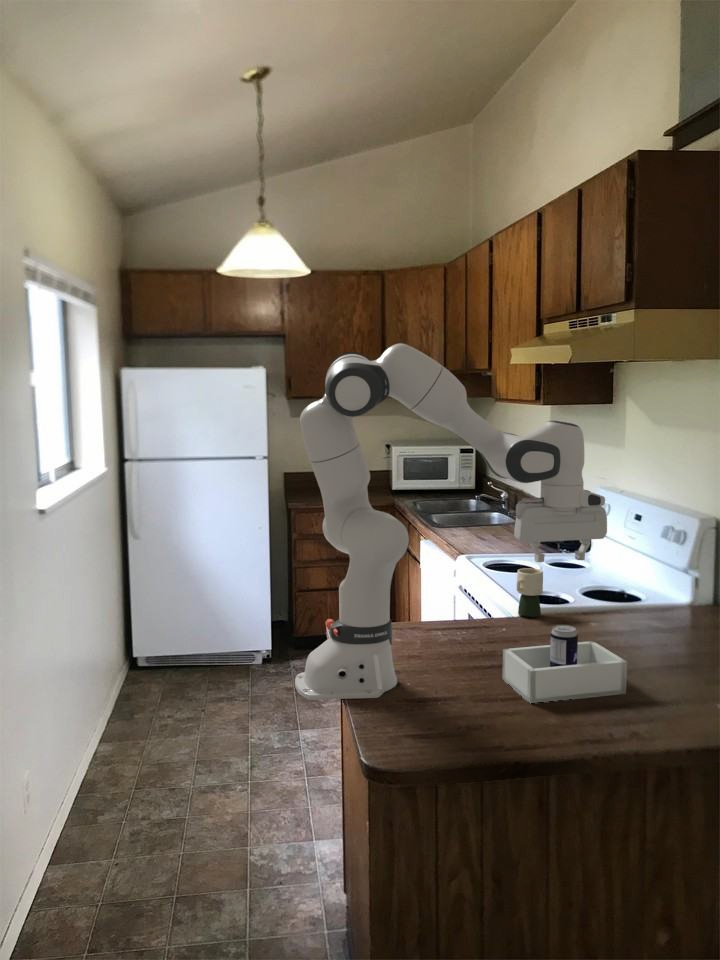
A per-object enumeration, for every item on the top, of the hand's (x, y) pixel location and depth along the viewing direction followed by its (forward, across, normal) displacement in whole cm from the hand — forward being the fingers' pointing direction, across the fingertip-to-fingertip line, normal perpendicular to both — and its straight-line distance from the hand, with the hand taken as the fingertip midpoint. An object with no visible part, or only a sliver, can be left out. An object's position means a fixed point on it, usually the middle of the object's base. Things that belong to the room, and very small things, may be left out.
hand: (559, 560), depth 171 cm
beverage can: (+27, +1, -2) cm, 27 cm away
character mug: (+28, +16, +48) cm, 58 cm away
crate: (+27, +1, -2) cm, 27 cm away
